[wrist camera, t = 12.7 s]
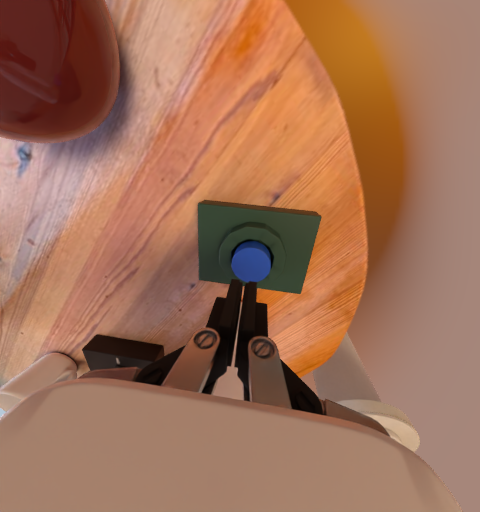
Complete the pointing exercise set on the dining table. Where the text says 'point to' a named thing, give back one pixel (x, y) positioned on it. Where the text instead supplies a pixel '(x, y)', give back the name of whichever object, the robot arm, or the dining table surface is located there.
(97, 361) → the dial panel
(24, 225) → the dining table surface
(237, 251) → the blue button cap
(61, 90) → the round-bottom flask
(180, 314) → the dining table surface
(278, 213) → the button base
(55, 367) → the cup
